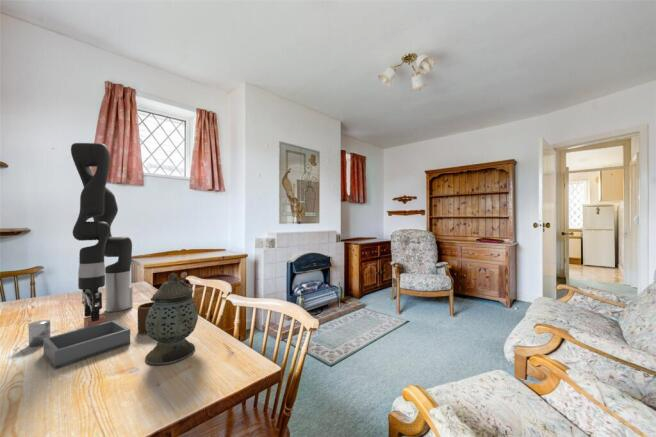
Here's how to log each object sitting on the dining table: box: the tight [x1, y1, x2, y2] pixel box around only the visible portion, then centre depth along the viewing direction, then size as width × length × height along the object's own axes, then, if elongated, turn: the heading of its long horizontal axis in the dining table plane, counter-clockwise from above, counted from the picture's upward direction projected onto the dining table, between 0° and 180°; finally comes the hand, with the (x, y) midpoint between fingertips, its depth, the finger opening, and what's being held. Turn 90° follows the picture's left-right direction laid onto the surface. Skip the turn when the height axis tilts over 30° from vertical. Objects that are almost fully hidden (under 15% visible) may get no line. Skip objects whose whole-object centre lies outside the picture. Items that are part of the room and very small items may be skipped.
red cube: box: [83, 313, 107, 328], centre depth 101 cm, size 5×5×5 cm
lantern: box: [144, 272, 199, 367], centre depth 84 cm, size 14×14×25 cm
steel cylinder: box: [27, 319, 51, 348], centre depth 91 cm, size 5×5×7 cm
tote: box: [42, 319, 131, 370], centre depth 87 cm, size 18×14×5 cm
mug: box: [137, 301, 155, 334], centre depth 100 cm, size 12×8×9 cm, turn 59°
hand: (91, 318), depth 100 cm, fingers open, 8 cm apart
